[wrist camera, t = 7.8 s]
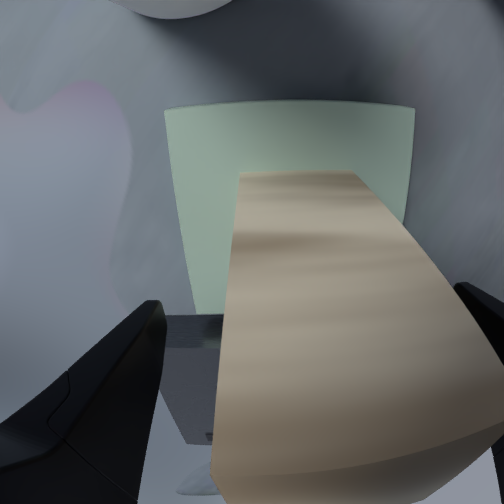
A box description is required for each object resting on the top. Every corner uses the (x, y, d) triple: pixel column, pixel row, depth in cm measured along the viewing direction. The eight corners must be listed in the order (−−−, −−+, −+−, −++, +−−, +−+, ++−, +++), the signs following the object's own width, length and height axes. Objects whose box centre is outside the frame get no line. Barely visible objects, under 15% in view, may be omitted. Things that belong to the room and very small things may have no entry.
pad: (380, 292, 17) (385, 303, 16) (199, 301, 17) (196, 314, 16) (404, 106, 12) (415, 108, 11) (170, 108, 12) (164, 110, 11)
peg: (343, 263, 15) (423, 499, 5) (247, 268, 15) (242, 527, 5) (351, 169, 12) (526, 409, 3) (240, 172, 12) (210, 474, 3)
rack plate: (378, 407, 23) (385, 432, 21) (190, 418, 24) (186, 445, 21) (421, 301, 17) (437, 330, 15) (151, 315, 18) (140, 348, 15)
